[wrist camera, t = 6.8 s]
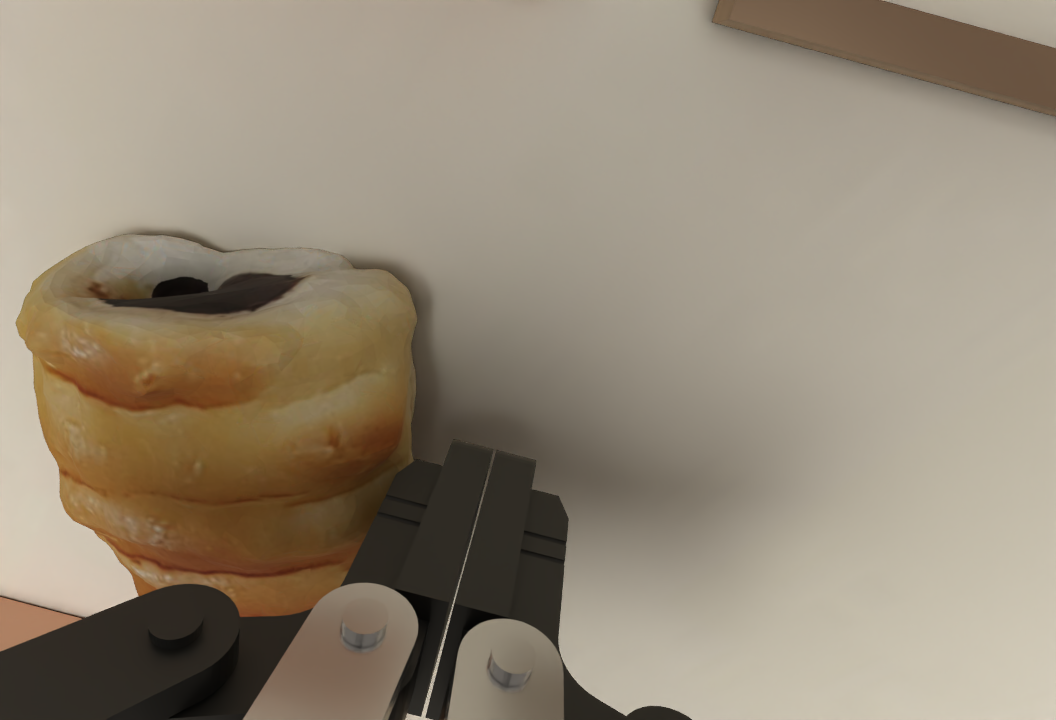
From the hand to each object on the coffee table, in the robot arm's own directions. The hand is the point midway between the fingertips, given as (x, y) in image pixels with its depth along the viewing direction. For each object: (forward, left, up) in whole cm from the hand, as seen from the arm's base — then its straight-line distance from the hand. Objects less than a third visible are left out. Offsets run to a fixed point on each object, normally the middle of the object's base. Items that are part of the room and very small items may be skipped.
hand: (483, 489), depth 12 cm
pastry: (+1, -4, -2) cm, 5 cm away
